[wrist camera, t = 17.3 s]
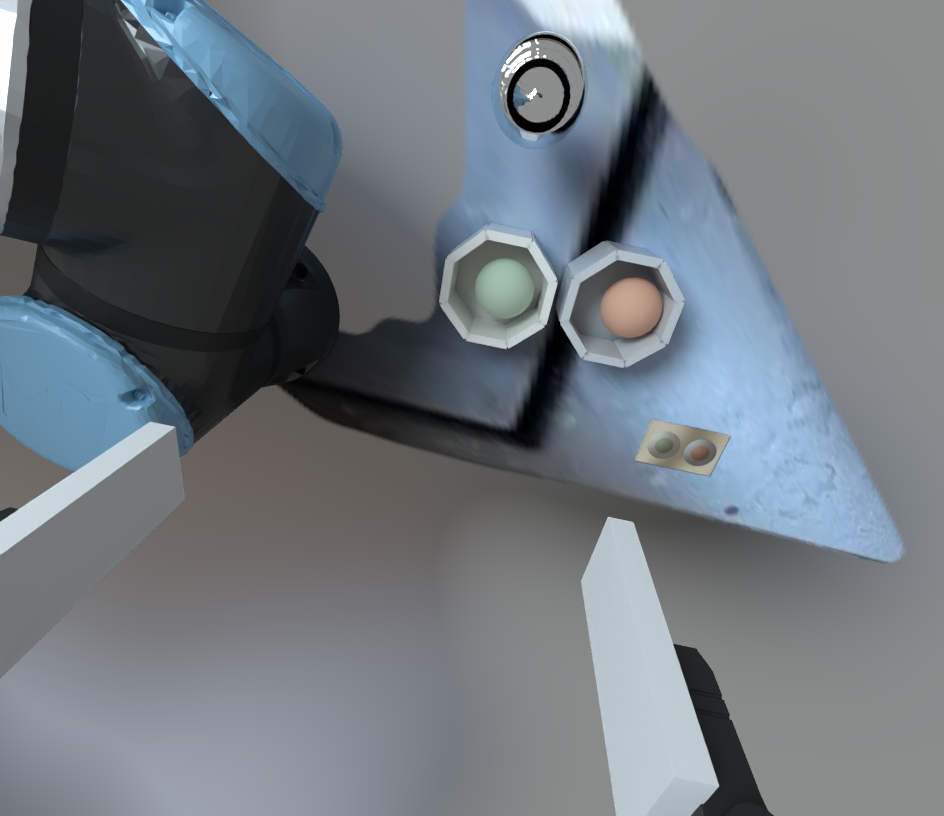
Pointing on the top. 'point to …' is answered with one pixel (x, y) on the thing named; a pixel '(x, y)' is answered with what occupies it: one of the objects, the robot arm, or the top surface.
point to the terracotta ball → (631, 307)
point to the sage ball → (504, 288)
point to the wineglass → (539, 90)
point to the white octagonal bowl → (463, 275)
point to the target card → (681, 447)
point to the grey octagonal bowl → (585, 294)
